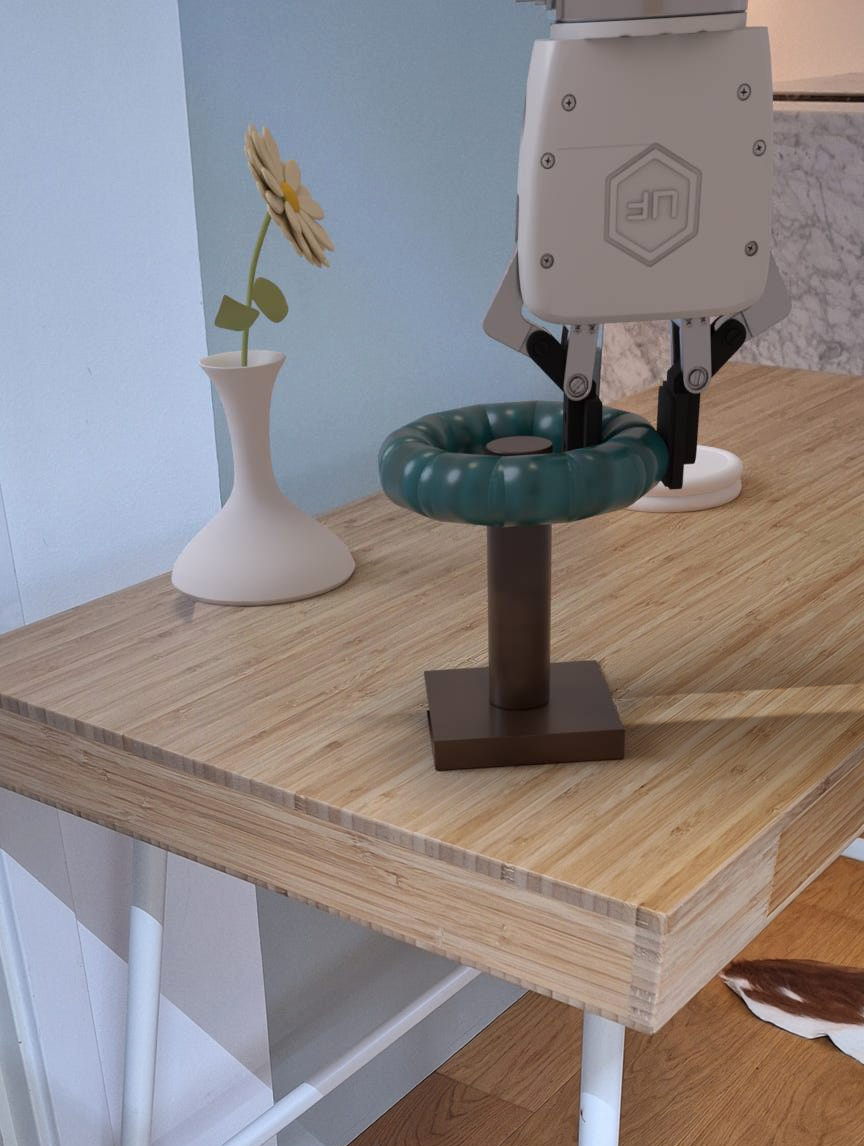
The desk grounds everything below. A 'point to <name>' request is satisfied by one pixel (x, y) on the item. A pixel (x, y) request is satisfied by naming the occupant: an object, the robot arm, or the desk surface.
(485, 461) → the ring
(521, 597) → the post
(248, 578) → the flower in vase
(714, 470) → the white grooved disc
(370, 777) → the desk surface
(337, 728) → the desk surface
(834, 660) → the desk surface
